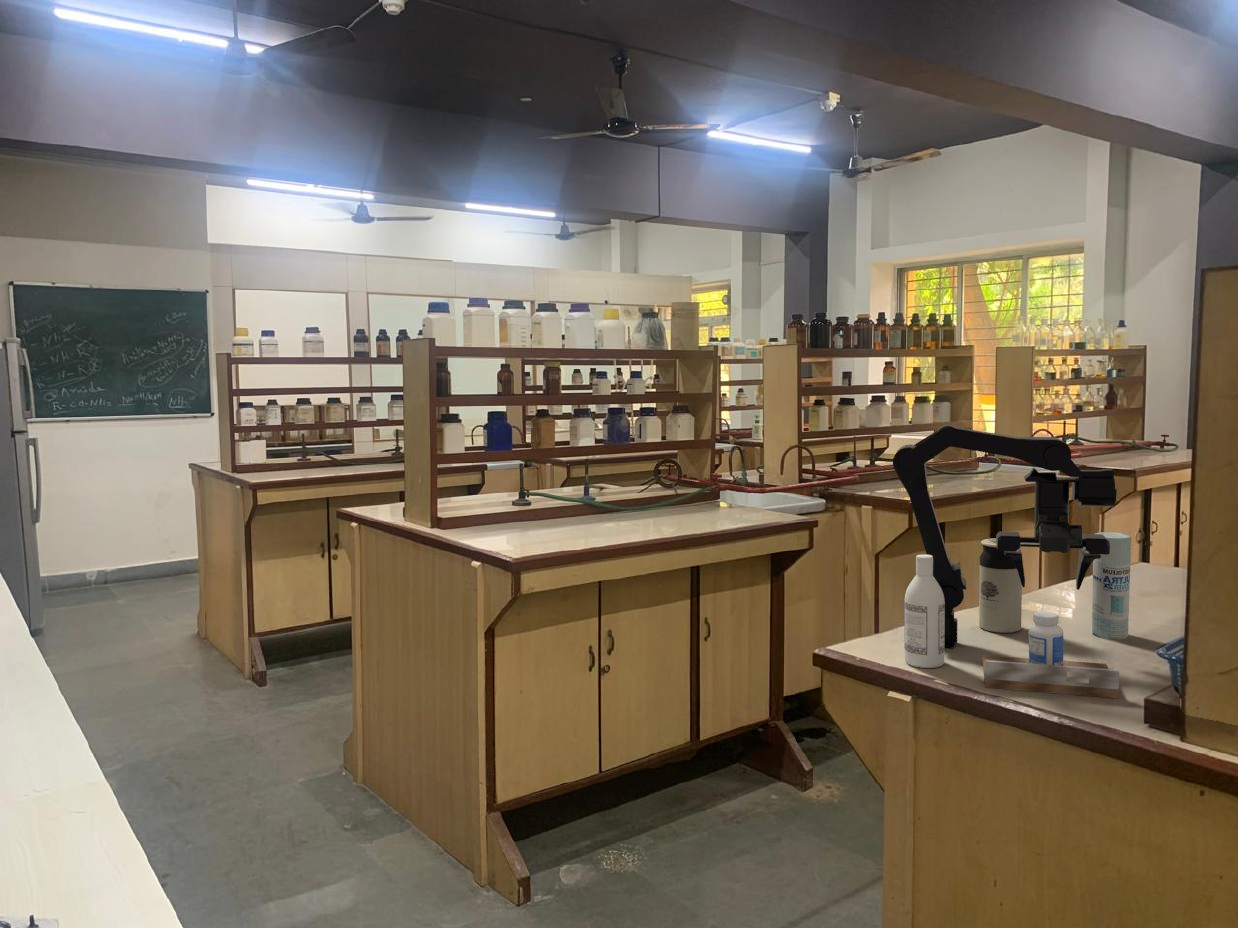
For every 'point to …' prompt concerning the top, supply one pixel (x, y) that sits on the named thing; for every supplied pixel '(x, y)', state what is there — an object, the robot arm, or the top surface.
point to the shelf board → (1051, 676)
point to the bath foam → (924, 617)
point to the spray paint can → (1112, 588)
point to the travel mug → (999, 591)
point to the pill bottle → (1045, 639)
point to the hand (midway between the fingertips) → (1050, 587)
